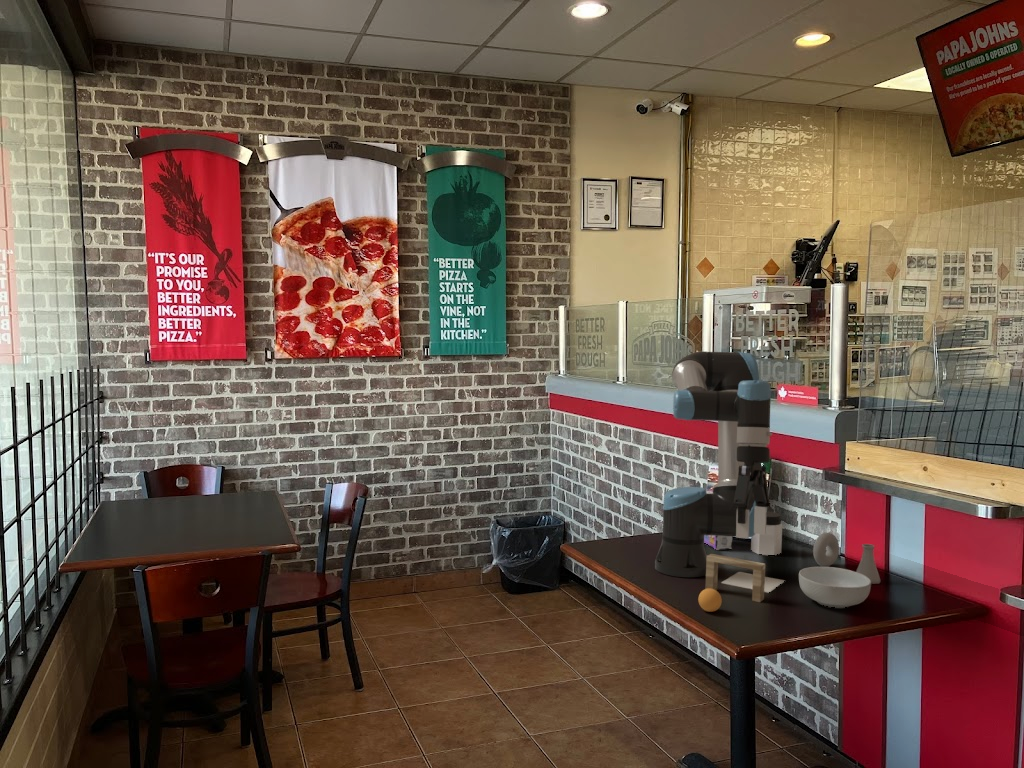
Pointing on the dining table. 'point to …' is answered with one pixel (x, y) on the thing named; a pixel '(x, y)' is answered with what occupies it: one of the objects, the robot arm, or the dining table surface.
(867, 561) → the flask
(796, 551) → the dining table surface
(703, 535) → the robot arm
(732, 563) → the bridge
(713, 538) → the candy box
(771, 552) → the jar
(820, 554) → the donut
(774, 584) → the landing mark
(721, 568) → the dining table surface
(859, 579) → the cereal bowl
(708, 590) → the ball
